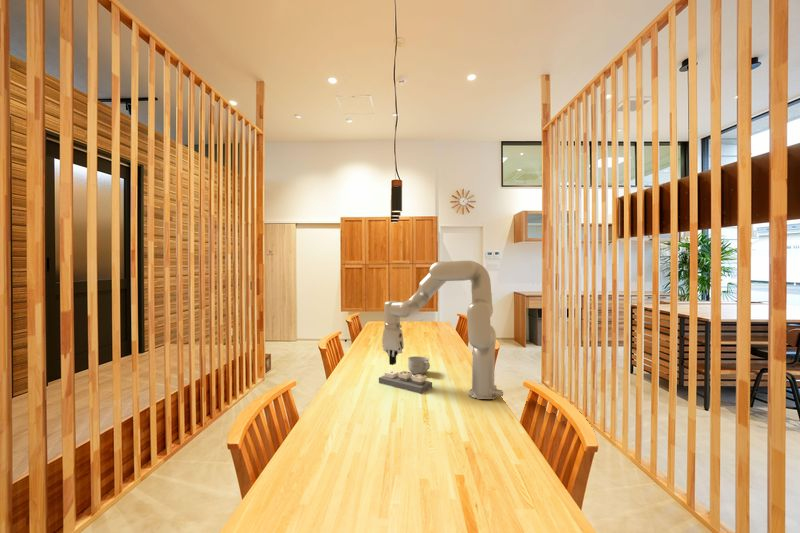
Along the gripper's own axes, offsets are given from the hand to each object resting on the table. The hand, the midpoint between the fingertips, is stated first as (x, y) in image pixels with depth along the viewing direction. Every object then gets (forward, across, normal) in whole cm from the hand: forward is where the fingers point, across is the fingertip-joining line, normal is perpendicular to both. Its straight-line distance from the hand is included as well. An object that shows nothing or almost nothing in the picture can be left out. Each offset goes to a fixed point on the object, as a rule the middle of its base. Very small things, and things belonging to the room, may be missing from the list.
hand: (392, 364), depth 179 cm
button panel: (+9, -7, 0) cm, 12 cm away
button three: (+7, -7, 0) cm, 10 cm away
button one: (+8, +1, 0) cm, 8 cm away
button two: (+7, -15, 0) cm, 17 cm away
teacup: (+9, -3, -19) cm, 21 cm away
